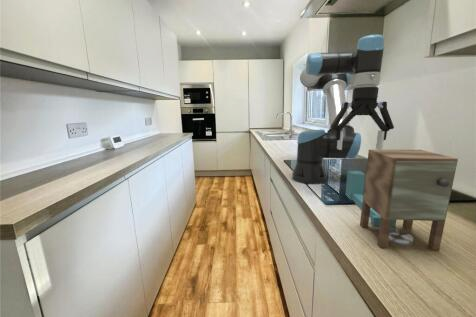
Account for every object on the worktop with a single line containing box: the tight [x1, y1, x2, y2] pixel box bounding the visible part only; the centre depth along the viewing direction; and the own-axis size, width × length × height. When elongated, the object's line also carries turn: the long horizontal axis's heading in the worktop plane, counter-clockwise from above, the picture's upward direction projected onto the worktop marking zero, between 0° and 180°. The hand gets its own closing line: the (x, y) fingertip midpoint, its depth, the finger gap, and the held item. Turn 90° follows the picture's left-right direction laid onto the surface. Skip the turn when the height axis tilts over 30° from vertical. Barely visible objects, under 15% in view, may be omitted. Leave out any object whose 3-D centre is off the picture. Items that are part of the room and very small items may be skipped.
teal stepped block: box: [344, 170, 397, 228], centre depth 73 cm, size 23×6×10 cm, turn 175°
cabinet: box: [359, 149, 459, 252], centre depth 54 cm, size 13×13×22 cm
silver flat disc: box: [388, 227, 414, 247], centre depth 57 cm, size 6×6×2 cm
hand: (358, 149), depth 79 cm, fingers open, 13 cm apart
